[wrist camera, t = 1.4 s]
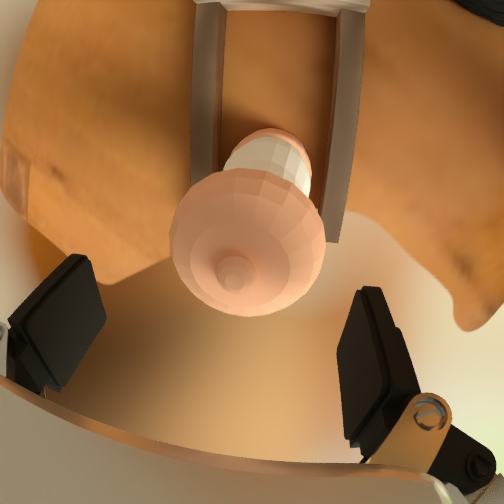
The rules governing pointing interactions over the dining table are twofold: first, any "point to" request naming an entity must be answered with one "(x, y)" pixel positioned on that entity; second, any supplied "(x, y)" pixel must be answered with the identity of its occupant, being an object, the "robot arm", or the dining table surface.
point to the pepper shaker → (251, 228)
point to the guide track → (342, 101)
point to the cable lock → (486, 9)
